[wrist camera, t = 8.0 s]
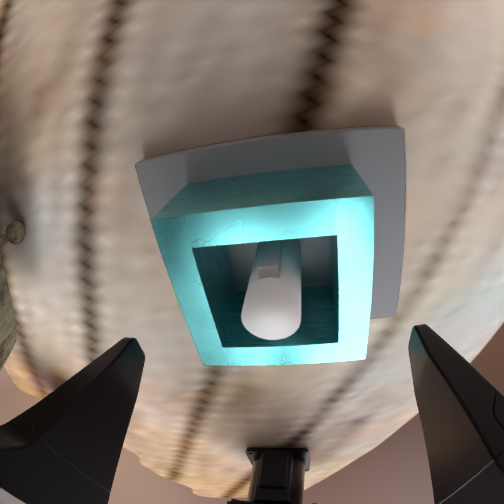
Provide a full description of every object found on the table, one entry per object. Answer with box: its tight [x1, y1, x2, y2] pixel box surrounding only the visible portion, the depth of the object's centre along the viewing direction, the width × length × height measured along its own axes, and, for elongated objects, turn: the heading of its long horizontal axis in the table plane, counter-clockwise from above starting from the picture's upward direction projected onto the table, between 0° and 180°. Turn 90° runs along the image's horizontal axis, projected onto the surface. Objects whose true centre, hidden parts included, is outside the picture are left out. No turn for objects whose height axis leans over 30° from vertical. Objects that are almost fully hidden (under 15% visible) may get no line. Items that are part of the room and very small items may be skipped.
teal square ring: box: [151, 164, 374, 366], centre depth 13 cm, size 7×7×4 cm
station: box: [135, 126, 406, 340], centre depth 13 cm, size 10×12×6 cm
